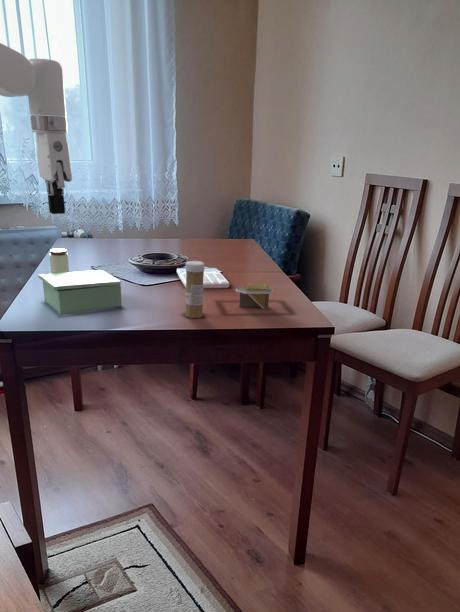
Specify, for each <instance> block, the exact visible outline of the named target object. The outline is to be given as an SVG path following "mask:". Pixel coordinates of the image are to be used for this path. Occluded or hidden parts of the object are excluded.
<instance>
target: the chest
mask: <svg viewBox="0 0 460 612" xmlns="http://www.w3.org/2000/svg"><path fill="white" fill-rule="evenodd" d="M42 287H43V288H42V289H43V298H44V301H45V302H46V303H47V304H48V305H49V306H50V307H52V309H54V310H55V311H56V312H57V313H59V314H60V315H64V314H72V313H80V312H87V311H88V312H89V311H95V310H103V309H110V308H111V309H112V308H119V307H123V305H122V285H121V284H120V285H109V286H97V287H85V288H73V289H62V290H54V289H53V288H51V287H50V286H49V285H47V284H46V283H45V282H44V281H42Z"/></svg>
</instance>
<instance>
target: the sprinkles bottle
mask: <svg viewBox="0 0 460 612" xmlns="http://www.w3.org/2000/svg"><path fill="white" fill-rule="evenodd" d="M185 268H186V287H185V313H184V315H185V317H187V318H189V319H200V318H202V317H204V314H203V304H204V288H203V286H204V283H203V276H204V268H205V262H203V261H200V260H189V261H186V262H185Z"/></svg>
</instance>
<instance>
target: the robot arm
mask: <svg viewBox="0 0 460 612" xmlns="http://www.w3.org/2000/svg"><path fill="white" fill-rule="evenodd" d="M0 96H2V97H5V98H14V97H17V98H19V97H28V106H29V114H30V115H29V116H30V125H31V126H30V127H31V132H32V133H35V139H36V140H35V142H36V157H37V159H36V160H37V167H38V174H39V177H40V178H41V179H43V180H44V181H45V182H44V183H45V185H46V194H47V202H48V211H49V214H52V215H61V214H62V215H63V214H65V213H66V206H65V191H64V190H65V188H66V184H65V182H67V183H70V182H71V181H72V180H73V172H72V163H71V156H70V148H69V141H68V138H67V134H68V122H67V108H66V95H65V81H64V71H63V67H62V64H61V63H60V62H59V61H57V60H54V59H49V58H29V59H28V58H27V57H26V56H25V55H23V54H22V53H20V52H19V51H17V50H15V49H13V48H11V47H10V46H7V45H5V44H4V43H1V42H0Z"/></svg>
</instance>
